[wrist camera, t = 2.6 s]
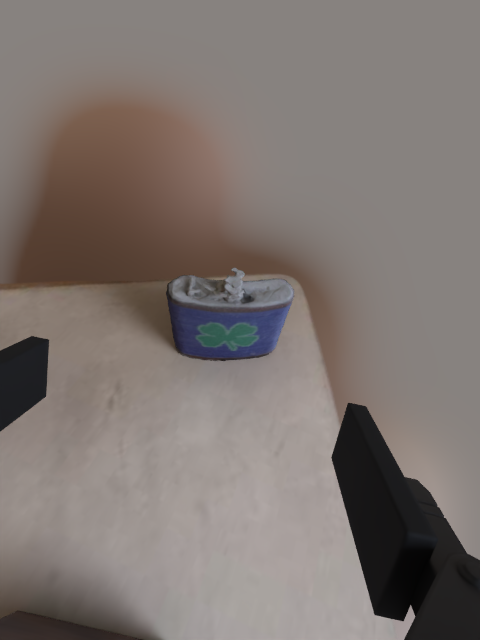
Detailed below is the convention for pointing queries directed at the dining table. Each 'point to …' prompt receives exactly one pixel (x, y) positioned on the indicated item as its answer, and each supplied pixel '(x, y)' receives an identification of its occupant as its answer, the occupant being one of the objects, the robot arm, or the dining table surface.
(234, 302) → the flask
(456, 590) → the robot arm
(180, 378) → the dining table surface
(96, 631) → the walnut block
